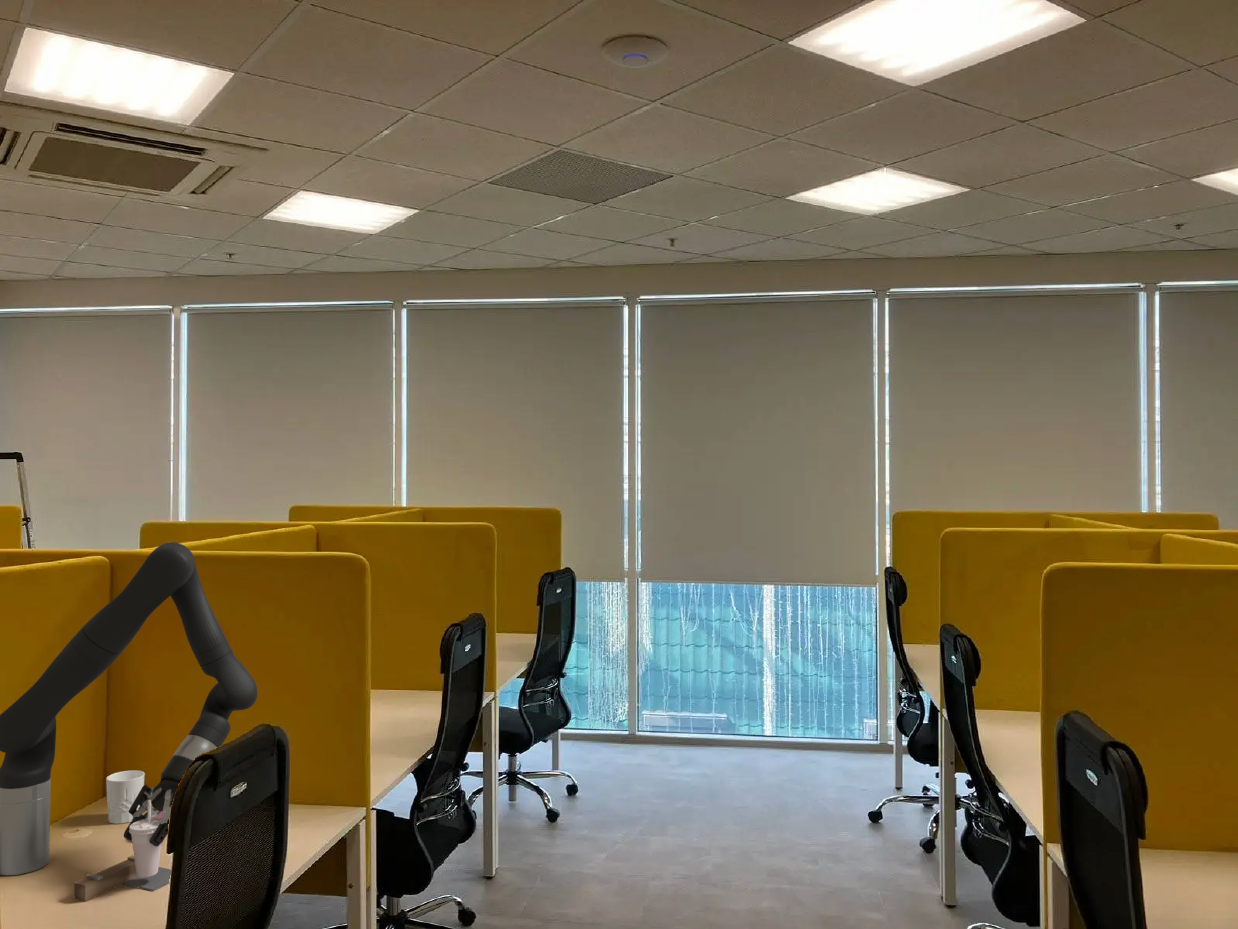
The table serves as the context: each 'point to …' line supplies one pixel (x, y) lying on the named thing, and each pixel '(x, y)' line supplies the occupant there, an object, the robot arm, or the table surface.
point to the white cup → (123, 794)
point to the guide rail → (104, 880)
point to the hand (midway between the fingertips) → (140, 841)
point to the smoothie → (145, 845)
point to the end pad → (151, 880)
